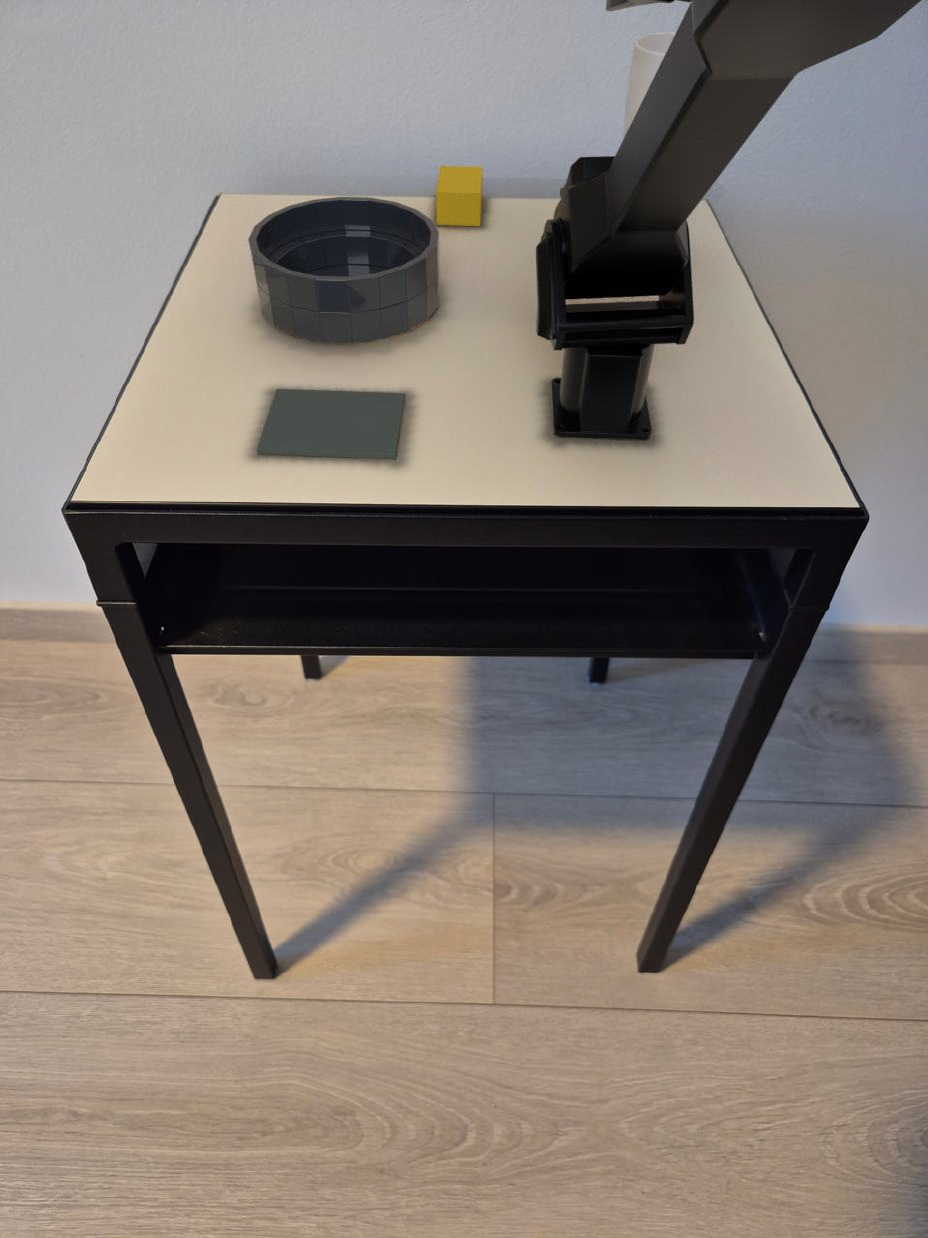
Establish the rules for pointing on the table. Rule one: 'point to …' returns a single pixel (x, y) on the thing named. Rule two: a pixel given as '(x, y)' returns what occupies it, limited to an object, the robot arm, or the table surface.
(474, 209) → the sponge
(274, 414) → the mat
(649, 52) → the white cup
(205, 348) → the table surface
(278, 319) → the bowl
